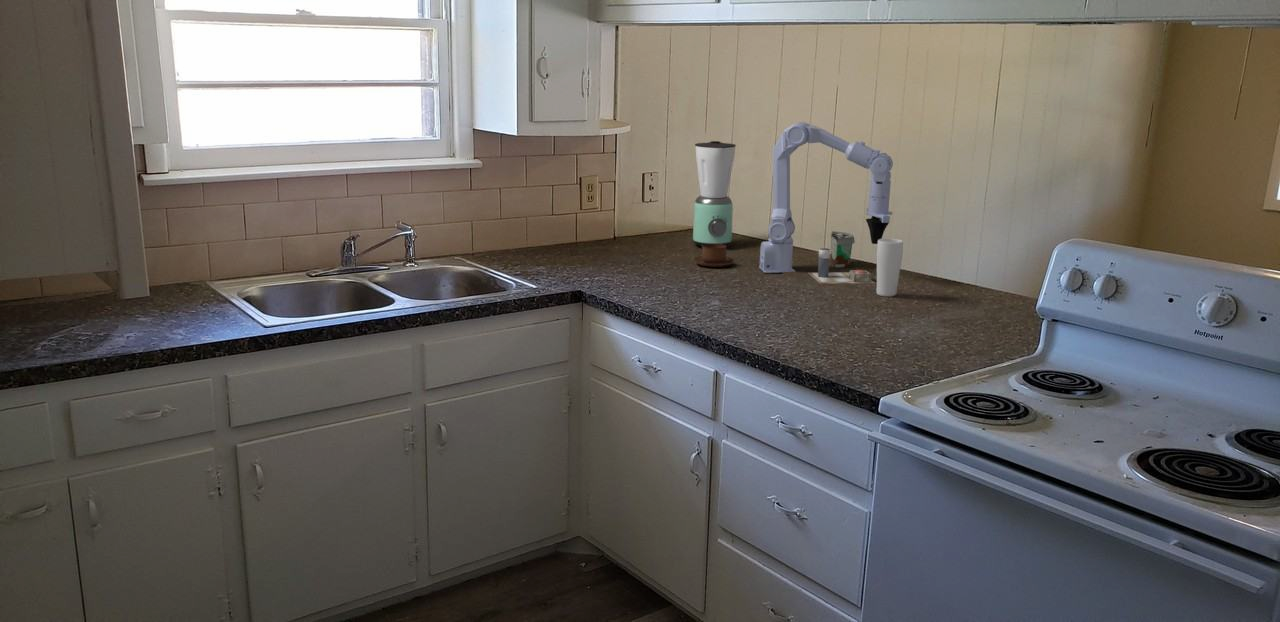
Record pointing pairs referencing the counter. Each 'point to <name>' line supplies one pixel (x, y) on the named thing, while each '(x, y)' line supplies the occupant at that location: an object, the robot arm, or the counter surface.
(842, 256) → the food container
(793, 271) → the robot arm
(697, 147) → the mint green blender
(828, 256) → the cylinder
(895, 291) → the drinking glass
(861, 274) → the control panel
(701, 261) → the cup and saucer
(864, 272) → the button
